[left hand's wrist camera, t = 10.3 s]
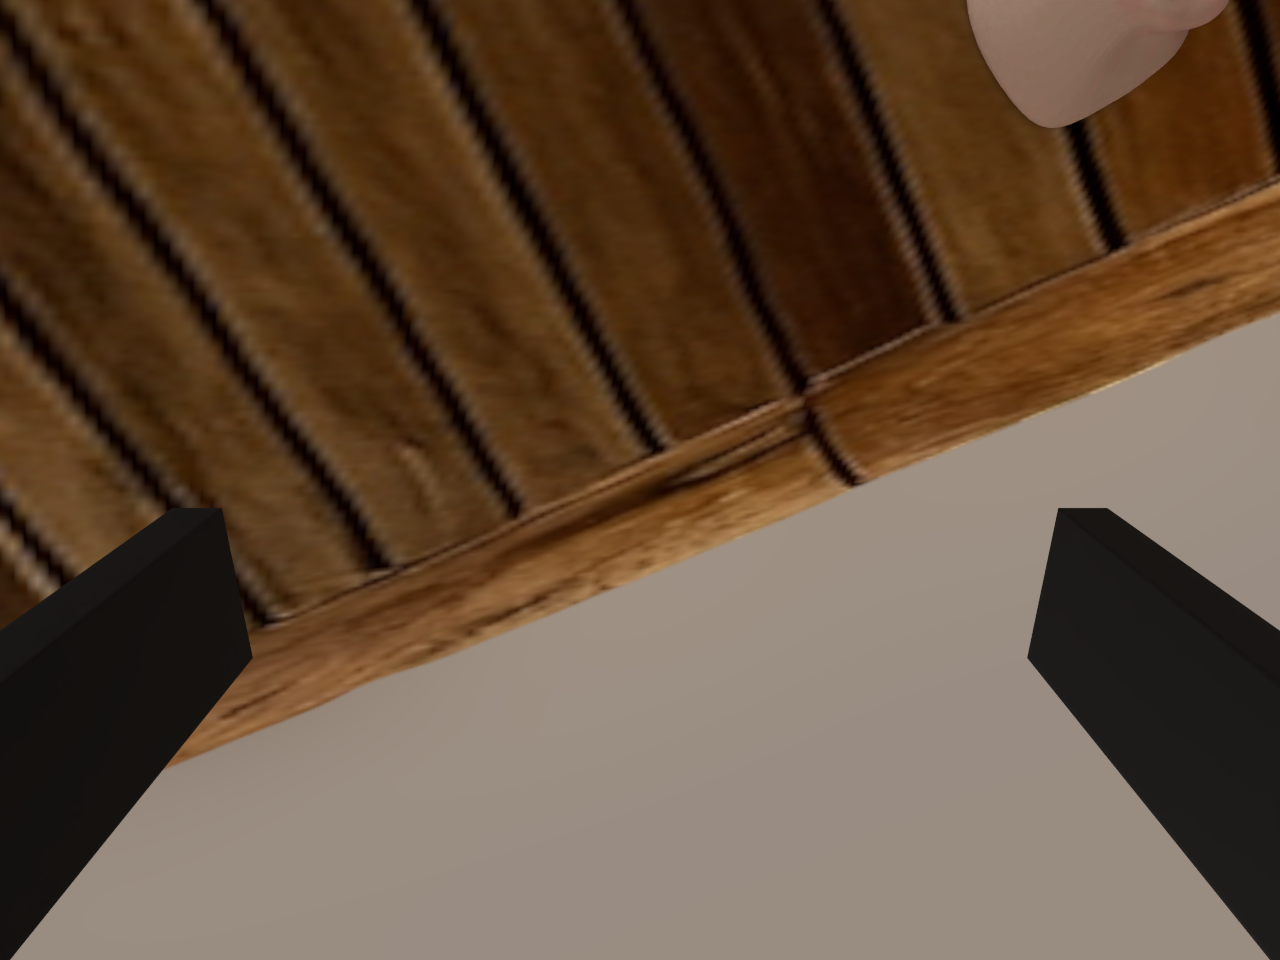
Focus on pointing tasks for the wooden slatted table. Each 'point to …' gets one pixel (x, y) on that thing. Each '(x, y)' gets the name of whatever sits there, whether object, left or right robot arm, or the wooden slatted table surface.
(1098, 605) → the left robot arm
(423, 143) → the wooden slatted table surface
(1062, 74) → the anatomical model
